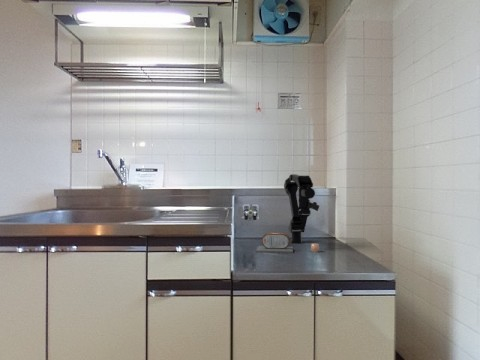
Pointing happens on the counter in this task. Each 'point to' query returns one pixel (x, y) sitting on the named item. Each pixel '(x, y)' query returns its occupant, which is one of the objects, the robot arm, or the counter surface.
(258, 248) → the mat
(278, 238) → the tin
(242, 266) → the counter surface
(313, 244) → the small orange block
